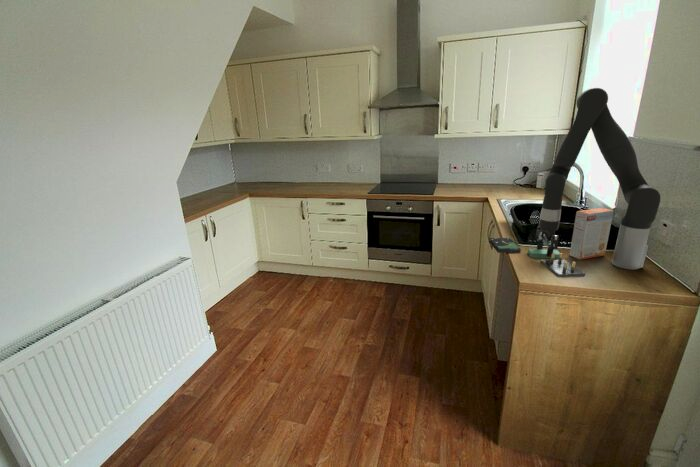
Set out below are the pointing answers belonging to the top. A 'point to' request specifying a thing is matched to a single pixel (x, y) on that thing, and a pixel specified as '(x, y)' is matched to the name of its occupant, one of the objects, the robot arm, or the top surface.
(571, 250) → the cracker box
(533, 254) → the board
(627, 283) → the top surface
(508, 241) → the disk drive
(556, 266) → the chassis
